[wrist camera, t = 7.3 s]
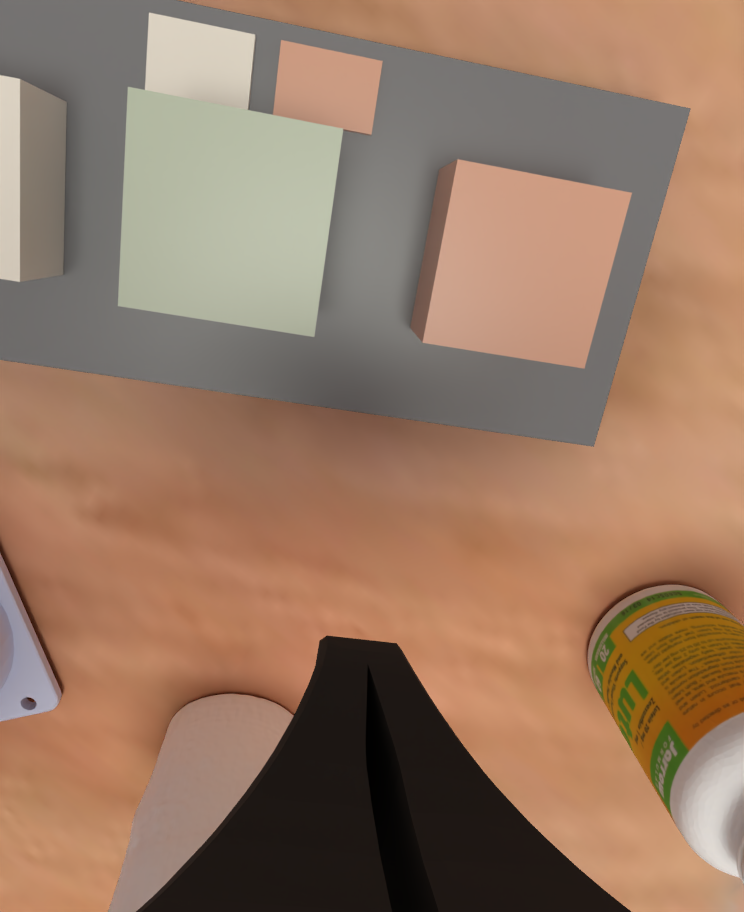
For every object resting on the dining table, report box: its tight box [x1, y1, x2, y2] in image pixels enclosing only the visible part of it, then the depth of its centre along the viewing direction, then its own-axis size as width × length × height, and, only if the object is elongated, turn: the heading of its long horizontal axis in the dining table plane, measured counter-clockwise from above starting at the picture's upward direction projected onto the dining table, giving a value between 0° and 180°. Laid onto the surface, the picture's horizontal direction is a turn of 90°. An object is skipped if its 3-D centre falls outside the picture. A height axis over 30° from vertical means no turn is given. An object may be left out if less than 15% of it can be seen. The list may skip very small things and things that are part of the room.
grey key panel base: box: [0, 0, 690, 447], centre depth 18 cm, size 21×9×2 cm, turn 80°
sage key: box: [118, 87, 343, 337], centre depth 14 cm, size 4×4×2 cm
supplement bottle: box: [588, 585, 744, 884], centre depth 20 cm, size 5×5×10 cm
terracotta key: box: [410, 159, 632, 368], centre depth 16 cm, size 4×4×2 cm
